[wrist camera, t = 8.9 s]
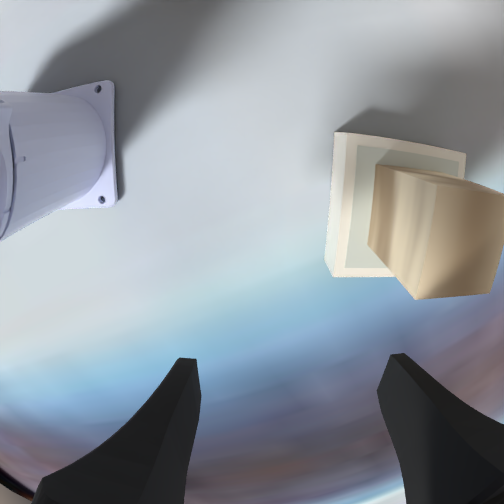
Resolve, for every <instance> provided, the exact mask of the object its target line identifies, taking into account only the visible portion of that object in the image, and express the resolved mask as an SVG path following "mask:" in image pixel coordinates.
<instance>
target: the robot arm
mask: <svg viewBox="0 0 504 504" xmlns="http://www.w3.org/2000/svg"><path fill="white" fill-rule="evenodd" d="M99 86H101V88H102V89H101V91H100V92H99V93H98V92H97V89H98V87H99ZM114 89H115V87H114V83H113V82H112V81H109V80H104V81H99V82H94V83H90V84H85V85H81V86H77V87H73V88H69V89H65V90H61V91H57V92H54V93H50V94H49V93H36V92H17V91H0V242H1V241H2V240H4V239H6V238H7V237H9V236H11V235H13V234H14V233H16V232H18V231H19V230H21V229H23V228H25V227H26V226H28V225H30V224H32V223H34V222H35V221H37V220H39V219H41V218H43V217H45V216H47V215H49V214H50V213H52V212H54V211H56V210H59V209H77V208H100V207H112V206H114V205H115V204H116V203H117V201H118V194H117V181H116V165H115V141H114ZM101 196H104V197H105V202H103V201H102V200H101ZM377 394H378V399H379V404H380V408H381V412H382V415H383V418H384V420H385V423H386V426H387V429H388V431H389V434H390V437H391V439H392V442H393V445H394V448H395V450H396V453H397V456H398V459H399V463H400V467H401V472H402V477H403V482H404V489H405V496H406V504H504V424H501V423H499V422H497V421H495V420H493V419H491V418H489V417H487V416H485V415H483V414H482V413H480V412H478V411H477V410H475V409H474V408H472V407H470V406H469V405H467V404H466V403H464V402H463V401H462V400H460V399H459V398H458V397H456V396H455V395H454V394H452V393H451V392H450V391H448V390H447V389H446V388H445V387H443V386H442V385H441V384H440V383H439V382H437V381H436V380H435V379H434V378H433V377H432V376H430V375H429V374H428V373H427V372H426V371H425V370H424V369H422V368H421V367H420V366H419V365H418V364H417V363H415V362H414V361H413V360H412V359H411V358H410V357H408V356H407V355H406V354H404V353H401V354H392V355H390V358H389V360H388V363H387V366H386V368H385V371H384V374H383V376H382V379H381V381H380V384H379V386H378V389H377ZM200 404H201V390H200V383H199V376H198V368H197V360H196V359H191V358H179V359H177V361H176V362H175V364H174V365H173V367H172V368H171V370H170V371H169V373H168V374H167V375H166V377H165V378H164V380H163V381H162V382H161V384H160V385H159V386H158V388H157V389H156V390H155V391H154V393H153V394H152V395H151V396H150V398H149V399H148V400H147V401H146V402H145V403H144V405H143V406H142V407H141V408H140V409H139V410H138V411H137V412H136V413H135V415H134V416H133V417H132V418H131V419H130V420H129V421H128V422H127V423H126V424H125V425H124V426H122V427H121V428H120V429H119V430H118V431H117V432H116V433H115V434H113V435H112V436H111V437H110V438H109V439H107V440H106V441H105V442H104V443H102V444H101V445H100V446H98V447H97V448H96V449H94V450H93V451H91V452H90V453H88V454H87V455H85V456H83V457H82V458H80V459H79V460H77V461H75V462H74V463H72V464H70V465H68V466H67V467H65V468H62V469H60V470H58V471H56V472H54V473H52V474H50V475H48V476H45V477H43V478H42V480H41V482H40V484H39V485H38V488H37V490H36V493H35V495H34V498H33V500H32V503H31V504H184V495H185V484H186V476H187V470H188V465H189V461H190V456H191V452H192V448H193V443H194V439H195V434H196V430H197V426H198V421H199V413H200Z"/></svg>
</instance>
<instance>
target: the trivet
mask: <svg viewBox="0 0 504 504" xmlns="http://www.w3.org/2000/svg"><path fill="white" fill-rule="evenodd" d="M376 164H381V165H391V166H399V167H408V168H415V169H423V170H430V171H437V172H443V173H446V174H449V175H453V176H456V177H459V178H462V179H464V174H465V165H466V153H462V152H458V151H453V150H449V149H445V148H440V147H435V146H430V145H425V144H420V143H415V142H409V141H403V140H397V139H391V138H385V137H378V136H371V135H363V134H355V133H345V132H334V146H333V164H332V179H331V193H330V205H329V216H328V227H327V236H326V246H325V255H324V261H325V262H326V264H327V266H328V268H329V270H330V272H331V274H332V276H333V277H395V275H394V274H393V273H392V272H391V271H390V270H389V269H388V267H387V266H386V265H385V264H384V263H383V262H382V261H381V260H380V258H379V257H378V256H377V255H376V254H375V253H374V252H373V251H372V250H371V248H370V247H369V246H368V245H367V242H368V235H369V227H370V219H371V210H372V200H373V190H374V179H375V165H376Z"/></svg>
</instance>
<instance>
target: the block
mask: <svg viewBox="0 0 504 504" xmlns="http://www.w3.org/2000/svg"><path fill="white" fill-rule="evenodd" d="M367 245H368V246H369V247H370V248H371V250H372V251H373V252H374V253H375V254H376V255H377V256H378V257H379V258H380V260H381V261H382V262H383V263H384V264H385V265H386V266H387V267H388V269H389V270H390V271H391V272H392V273H393V274H394V275H395V277H396V278H397V279H398V280H399V281H400V282H401V284H402V285H403V286H404V287H405V288H406V290H407V291H408V292H409V293H410V294H411V296H412V297H413V298H414V299H415V300H417V299H431V298H444V297H456V296H467V295H477V294H487V293H490V290H491V287H492V284H493V281H494V278H495V275H496V271H497V268H498V264H499V260H500V257H501V253H502V249H503V245H504V194H503V193H500V192H498V191H495V190H493V189H490V188H487V187H485V186H482V185H479V184H476V183H473V182H471V181H468V180H465V179H462V178H459V177H456V176H453V175H449V174H446V173H443V172H437V171H430V170H423V169H415V168H408V167H399V166H391V165H381V164H376V165H375V179H374V190H373V200H372V210H371V219H370V227H369V235H368V242H367Z"/></svg>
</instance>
